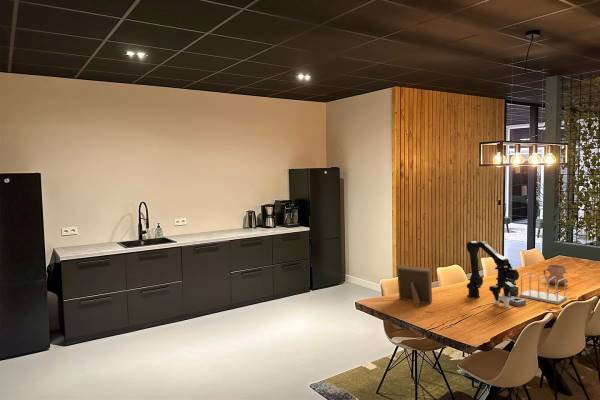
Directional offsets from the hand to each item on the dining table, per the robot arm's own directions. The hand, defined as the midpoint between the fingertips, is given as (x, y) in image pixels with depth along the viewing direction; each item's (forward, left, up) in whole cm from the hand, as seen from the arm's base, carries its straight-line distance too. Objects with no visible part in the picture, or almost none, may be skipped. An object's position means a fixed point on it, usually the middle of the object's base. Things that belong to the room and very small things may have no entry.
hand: (501, 299), depth 297 cm
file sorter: (+5, +39, -4) cm, 39 cm away
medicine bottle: (-11, +25, -4) cm, 27 cm away
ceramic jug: (-11, +81, -4) cm, 82 cm away
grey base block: (0, +11, -4) cm, 12 cm away
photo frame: (-34, -46, -4) cm, 58 cm away
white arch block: (0, 0, -4) cm, 4 cm away
